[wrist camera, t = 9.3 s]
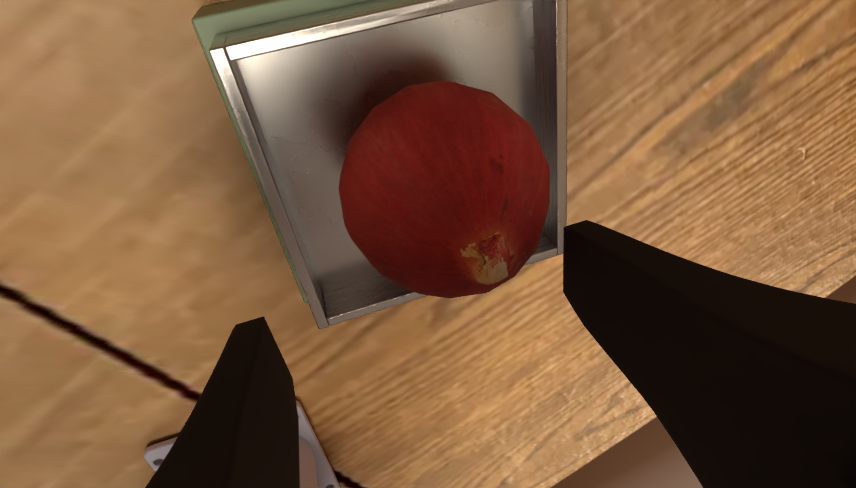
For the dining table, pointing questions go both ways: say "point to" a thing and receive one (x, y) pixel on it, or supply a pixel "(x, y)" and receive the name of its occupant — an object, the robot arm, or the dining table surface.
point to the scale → (248, 8)
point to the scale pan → (368, 87)
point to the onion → (445, 189)
